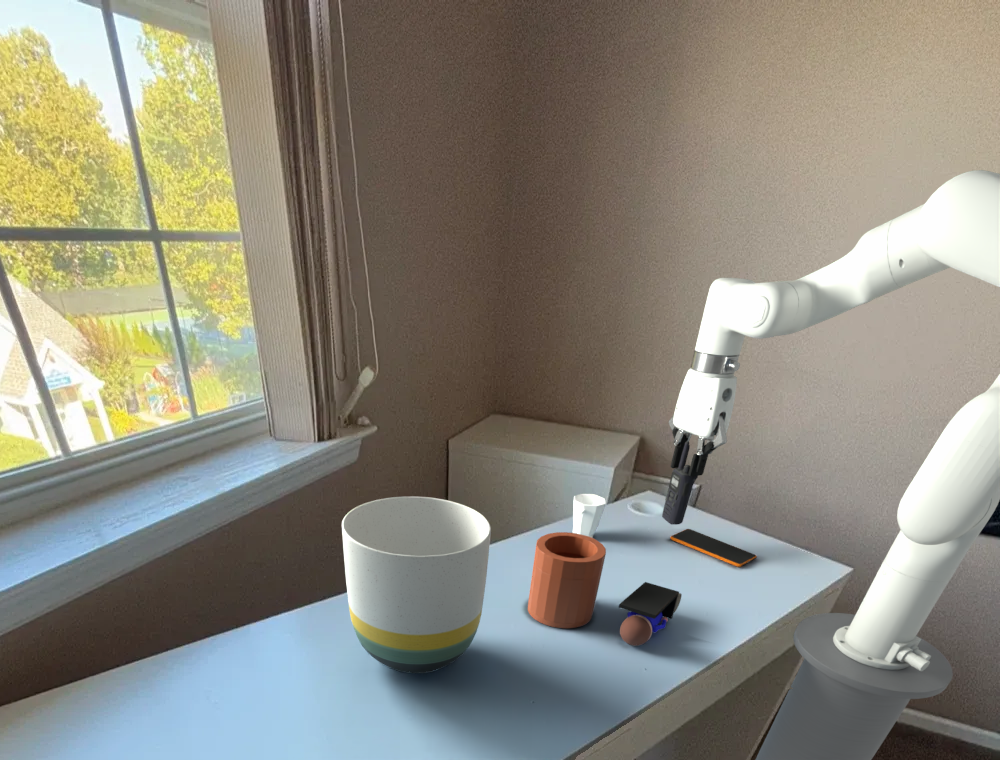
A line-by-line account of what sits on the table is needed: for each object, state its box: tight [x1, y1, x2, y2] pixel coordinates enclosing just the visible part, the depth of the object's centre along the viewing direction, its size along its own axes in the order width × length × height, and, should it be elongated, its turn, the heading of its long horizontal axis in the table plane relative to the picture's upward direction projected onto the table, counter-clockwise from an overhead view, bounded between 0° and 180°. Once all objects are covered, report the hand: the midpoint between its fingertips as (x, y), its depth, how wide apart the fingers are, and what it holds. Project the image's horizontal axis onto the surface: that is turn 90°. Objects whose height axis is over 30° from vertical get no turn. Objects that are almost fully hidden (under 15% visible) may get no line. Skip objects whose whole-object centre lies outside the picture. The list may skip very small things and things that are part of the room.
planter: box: [341, 496, 492, 674], centre depth 90 cm, size 20×20×21 cm
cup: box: [571, 493, 607, 539], centre depth 132 cm, size 7×10×8 cm
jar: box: [527, 531, 607, 629], centre depth 106 cm, size 11×11×12 cm
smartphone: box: [669, 528, 758, 568], centre depth 133 cm, size 8×17×1 cm, turn 43°
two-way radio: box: [661, 441, 699, 525], centre depth 123 cm, size 6×4×15 cm
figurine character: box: [618, 581, 682, 647], centre depth 105 cm, size 7×8×15 cm
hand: (686, 470), depth 122 cm, fingers closed on two-way radio, 4 cm apart
